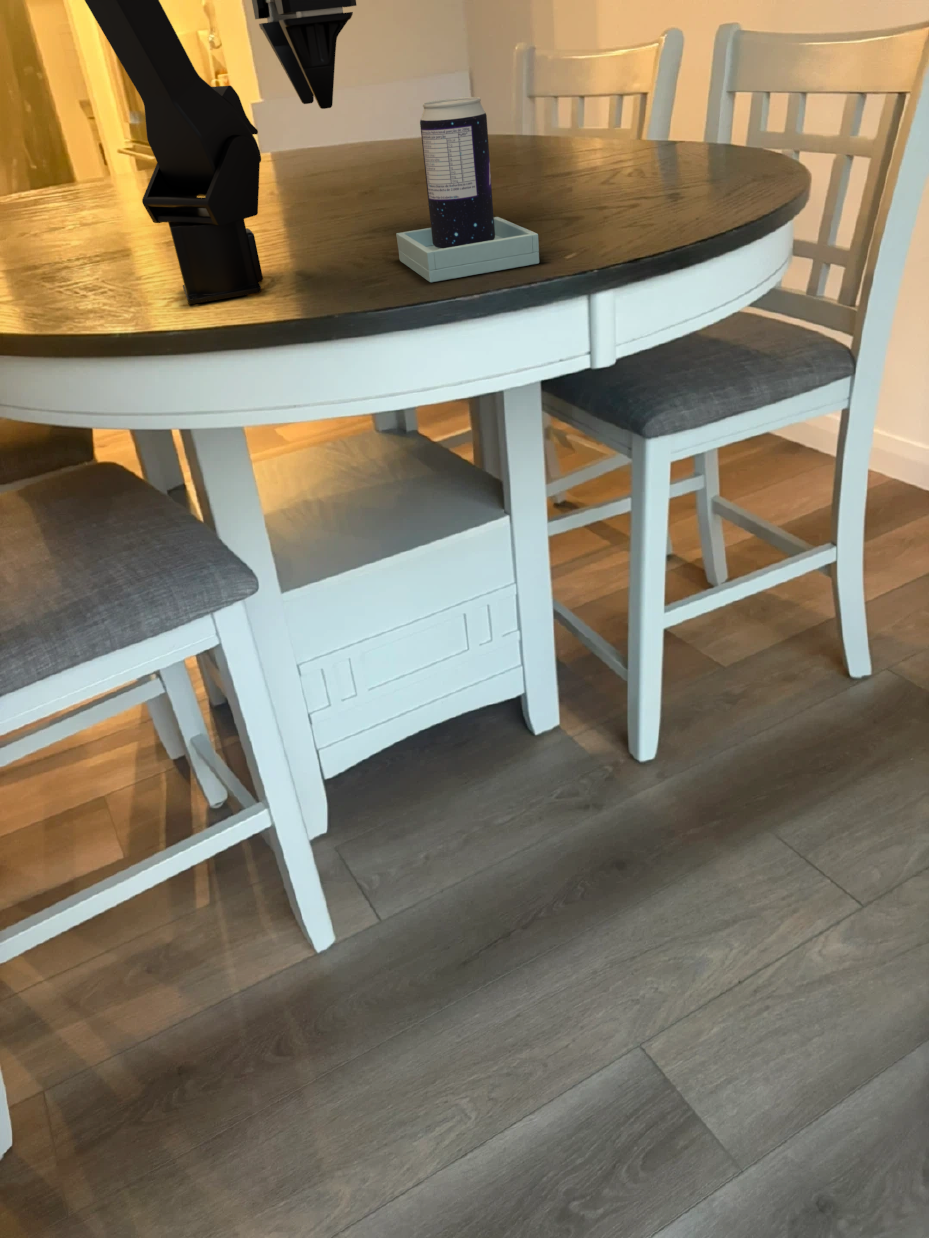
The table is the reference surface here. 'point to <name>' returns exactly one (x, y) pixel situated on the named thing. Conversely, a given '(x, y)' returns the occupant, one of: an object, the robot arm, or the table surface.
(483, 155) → the beverage can
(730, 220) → the table surface
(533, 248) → the rectangular tray
